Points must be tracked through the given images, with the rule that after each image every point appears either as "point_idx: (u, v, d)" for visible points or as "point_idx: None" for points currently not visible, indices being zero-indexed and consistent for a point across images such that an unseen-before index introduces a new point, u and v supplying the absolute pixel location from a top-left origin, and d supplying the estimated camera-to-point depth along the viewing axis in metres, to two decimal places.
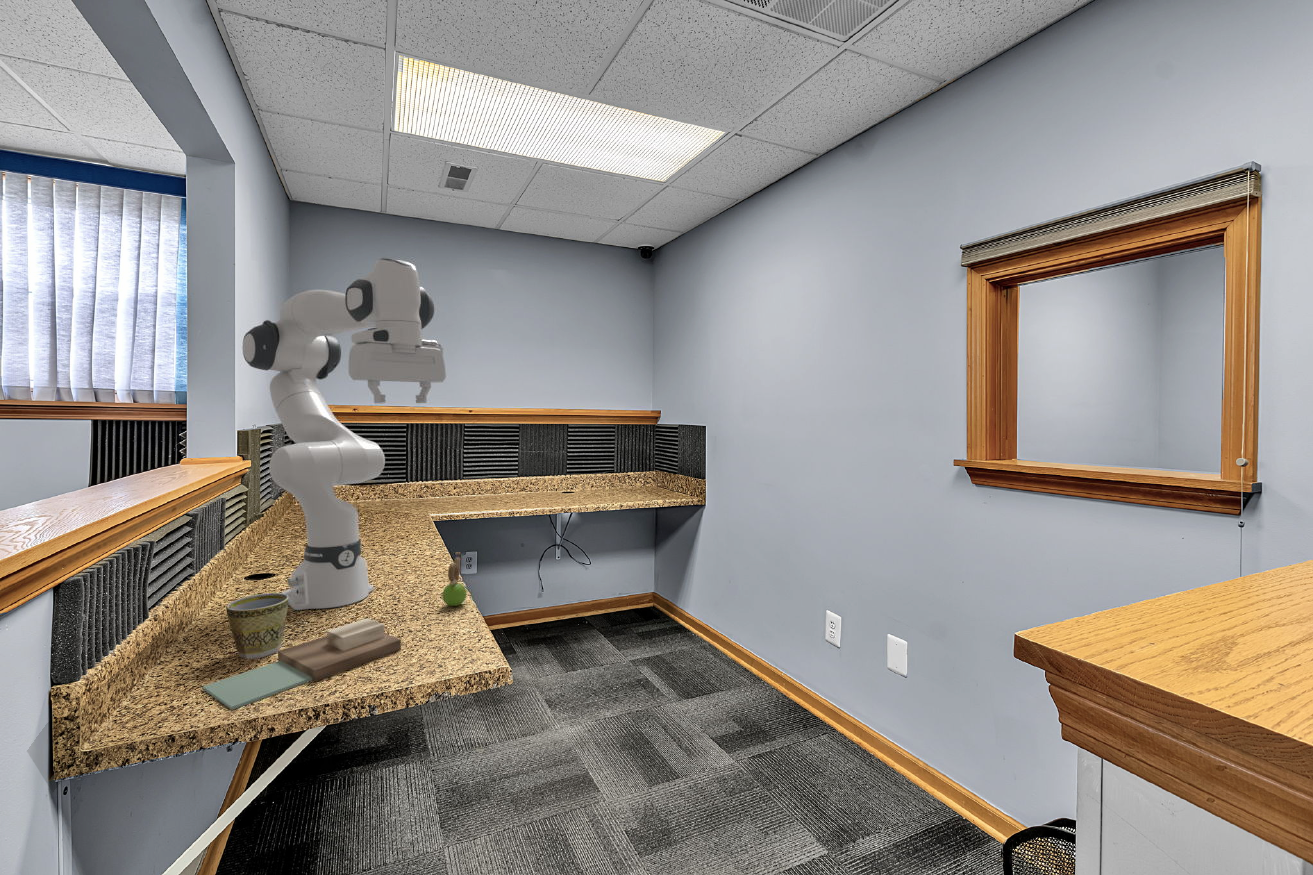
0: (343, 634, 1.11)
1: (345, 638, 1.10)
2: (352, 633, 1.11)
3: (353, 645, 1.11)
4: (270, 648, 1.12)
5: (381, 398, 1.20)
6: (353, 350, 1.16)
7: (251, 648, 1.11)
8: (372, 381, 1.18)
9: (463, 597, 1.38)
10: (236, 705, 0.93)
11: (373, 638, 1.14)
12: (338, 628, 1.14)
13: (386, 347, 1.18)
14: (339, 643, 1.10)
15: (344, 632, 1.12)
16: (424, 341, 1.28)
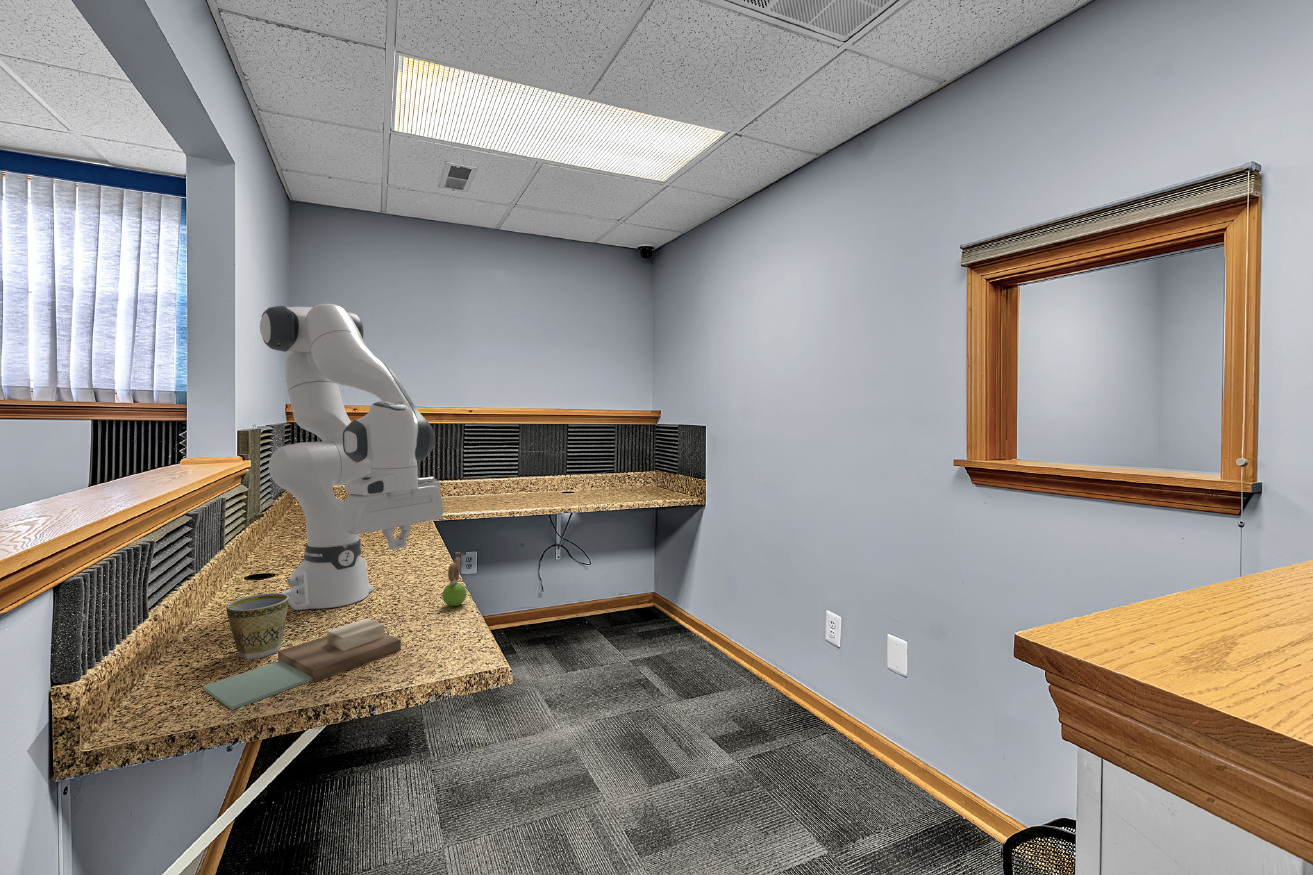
0: (343, 634, 1.11)
1: (345, 638, 1.10)
2: (352, 633, 1.11)
3: (353, 645, 1.11)
4: (270, 648, 1.12)
5: (395, 544, 1.19)
6: (347, 503, 1.13)
7: (251, 648, 1.11)
8: (386, 529, 1.18)
9: (463, 597, 1.38)
10: (236, 705, 0.93)
11: (373, 638, 1.14)
12: (338, 628, 1.14)
13: (381, 497, 1.15)
14: (339, 643, 1.10)
15: (344, 632, 1.12)
16: (421, 480, 1.24)
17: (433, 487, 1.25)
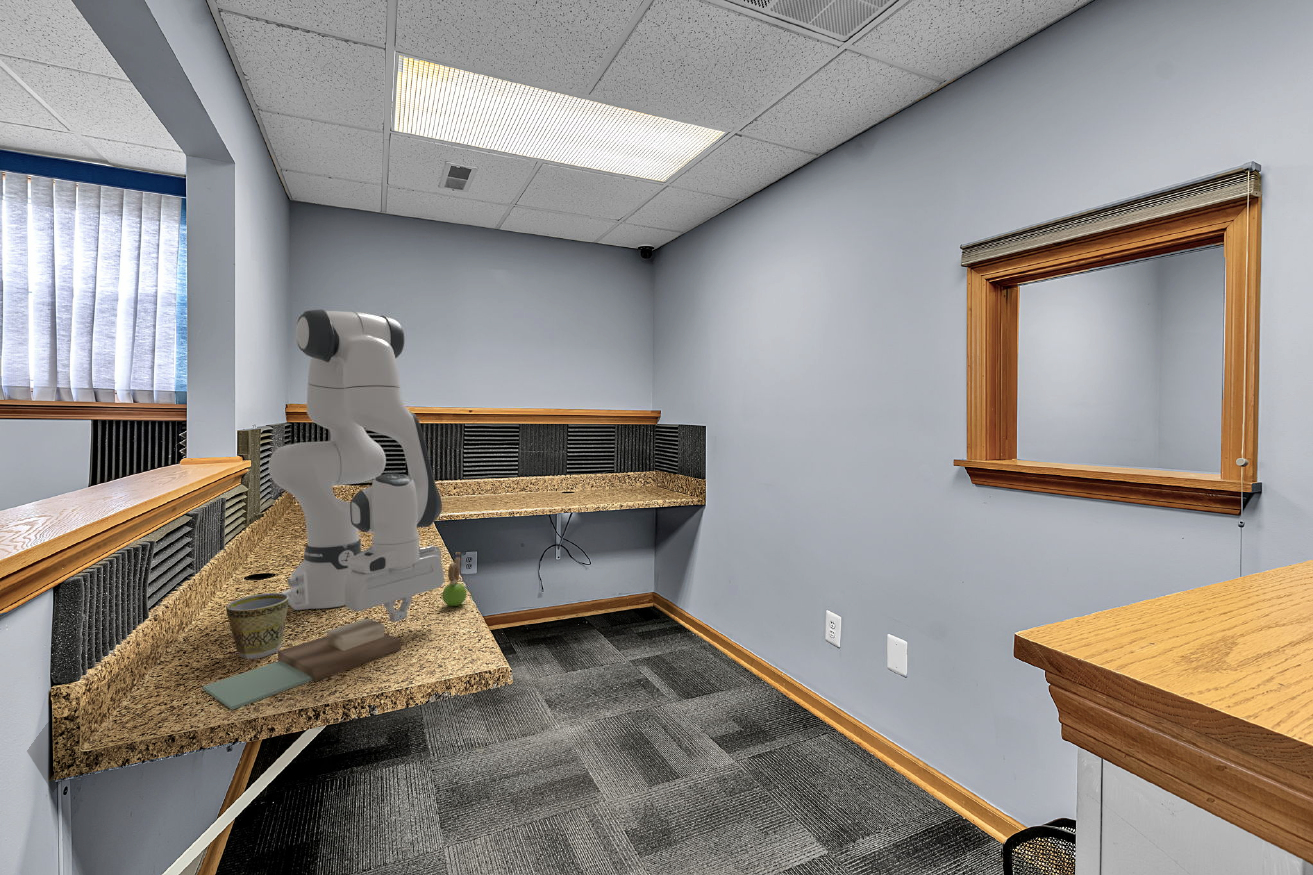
0: (343, 634, 1.11)
1: (345, 638, 1.10)
2: (352, 633, 1.11)
3: (353, 645, 1.11)
4: (270, 648, 1.12)
5: (396, 616, 1.20)
6: (349, 580, 1.14)
7: (251, 648, 1.11)
8: (388, 602, 1.19)
9: (463, 597, 1.38)
10: (236, 705, 0.93)
11: (373, 638, 1.14)
12: (338, 628, 1.14)
13: (382, 573, 1.15)
14: (339, 643, 1.10)
15: (344, 632, 1.12)
16: (422, 550, 1.25)
17: (434, 557, 1.26)
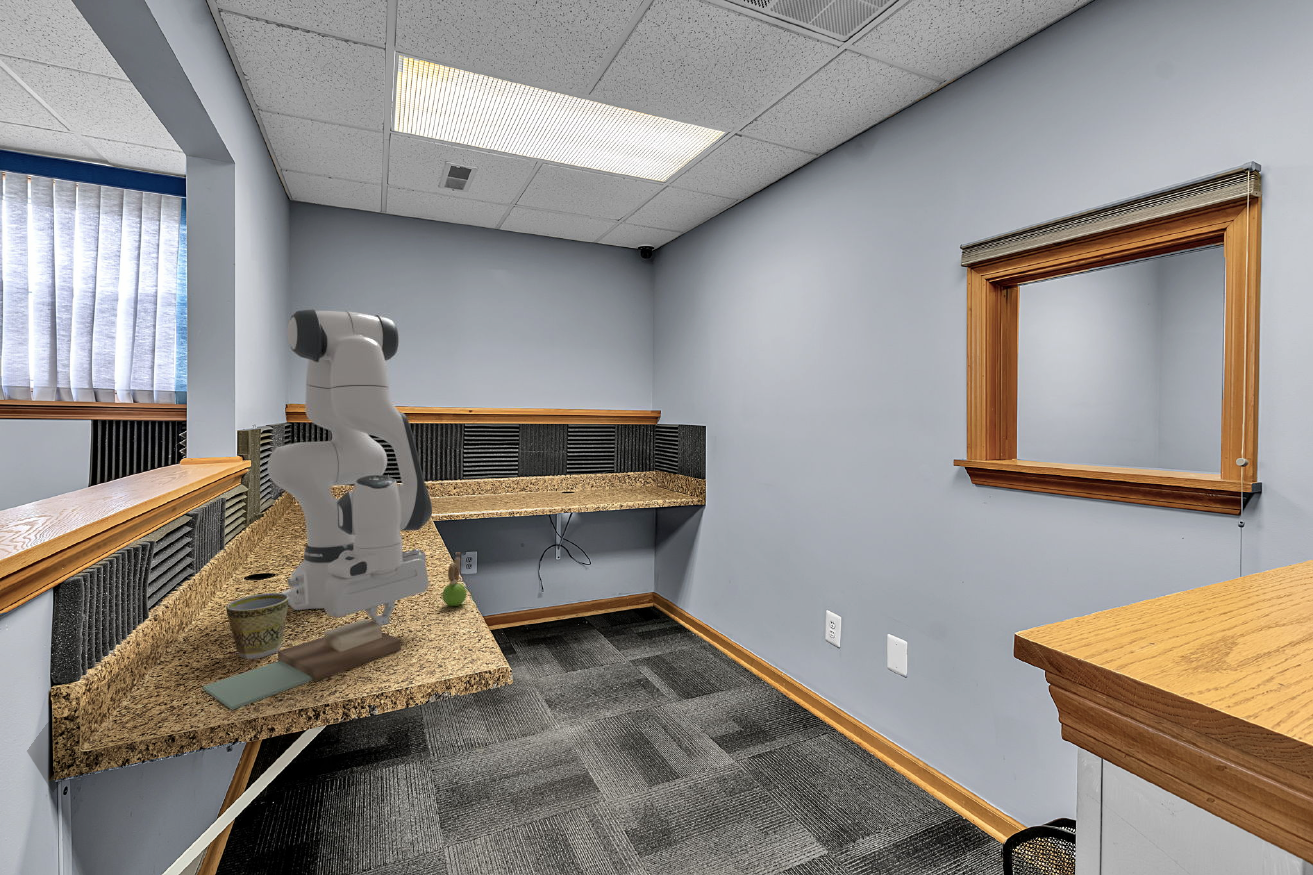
0: (340, 635, 1.10)
1: (342, 639, 1.09)
2: (350, 634, 1.11)
3: (350, 646, 1.10)
4: (270, 648, 1.12)
5: (379, 622, 1.17)
6: (329, 585, 1.10)
7: (251, 648, 1.11)
8: (370, 608, 1.16)
9: (463, 597, 1.38)
10: (236, 705, 0.93)
11: (371, 639, 1.14)
12: (335, 629, 1.13)
13: (364, 578, 1.12)
14: (337, 644, 1.10)
15: (342, 633, 1.11)
16: (405, 553, 1.22)
17: (418, 560, 1.23)
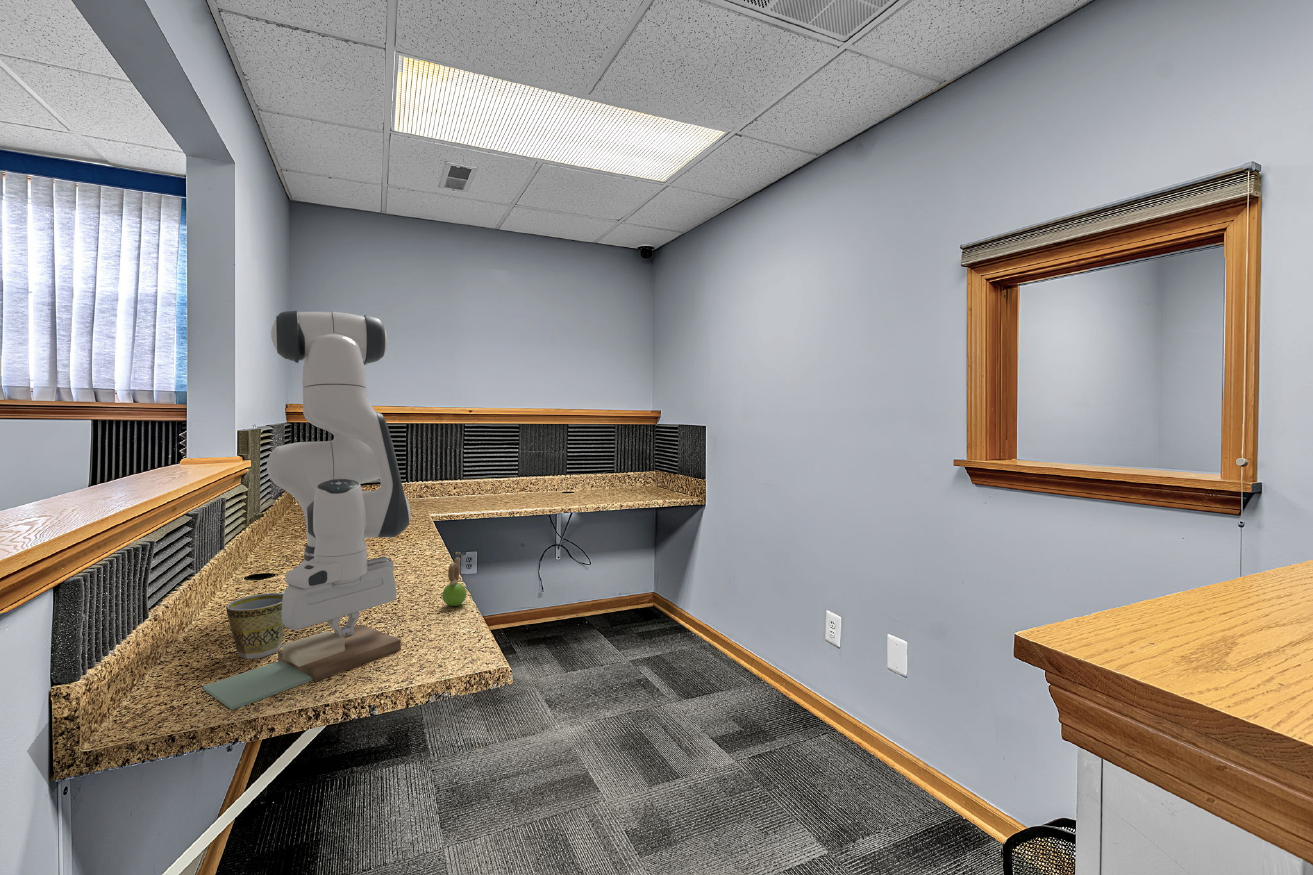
0: (299, 649, 1.04)
1: (301, 653, 1.03)
2: (309, 647, 1.05)
3: (310, 660, 1.04)
4: (270, 648, 1.12)
5: (342, 634, 1.11)
6: (286, 596, 1.04)
7: (251, 648, 1.11)
8: None
9: (463, 597, 1.38)
10: (236, 705, 0.93)
11: (332, 652, 1.08)
12: (295, 642, 1.07)
13: (324, 588, 1.06)
14: (295, 658, 1.03)
15: (301, 646, 1.05)
16: (371, 561, 1.16)
17: (385, 569, 1.17)
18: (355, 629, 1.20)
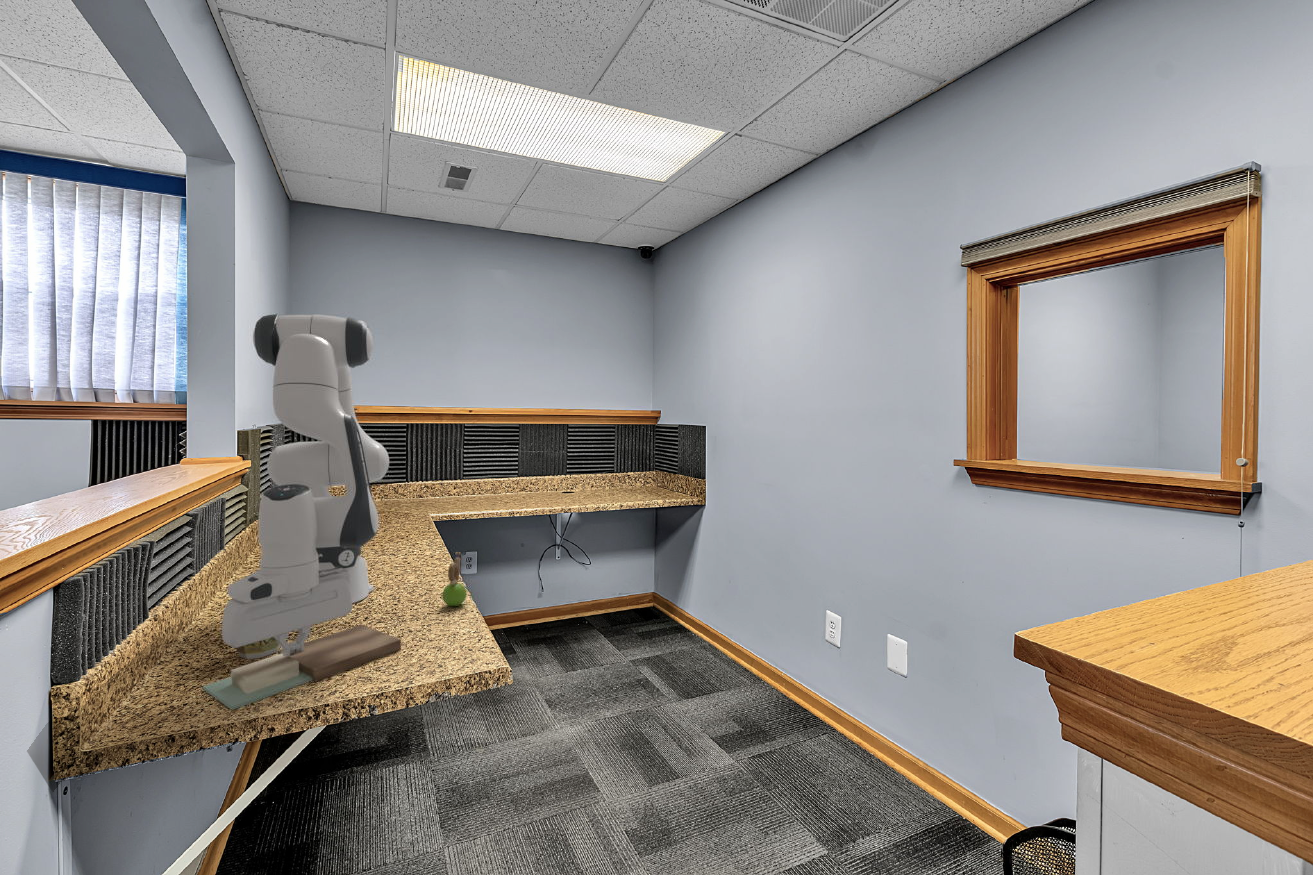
0: (247, 675, 0.97)
1: (249, 679, 0.96)
2: (259, 673, 0.98)
3: (259, 687, 0.98)
4: (270, 648, 1.12)
5: (290, 651, 1.04)
6: (227, 610, 0.97)
7: (251, 648, 1.11)
8: (278, 635, 1.02)
9: (463, 597, 1.38)
10: (236, 705, 0.93)
11: (285, 677, 1.01)
12: (245, 666, 1.01)
13: (268, 602, 0.99)
14: (243, 685, 0.97)
15: (250, 671, 0.99)
16: (324, 572, 1.08)
17: (339, 580, 1.10)
18: (355, 629, 1.20)
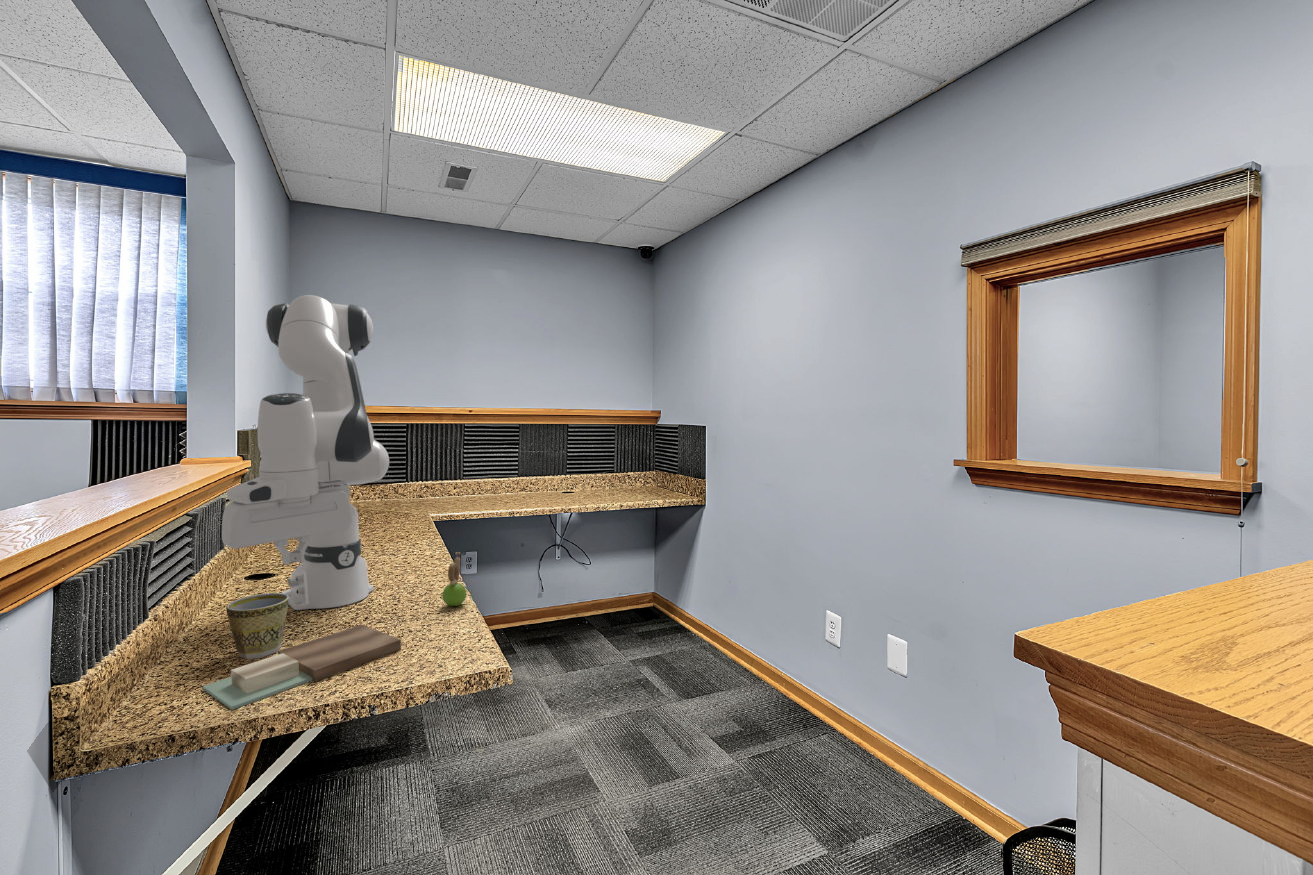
0: (247, 675, 0.97)
1: (249, 679, 0.96)
2: (259, 673, 0.98)
3: (259, 687, 0.98)
4: (270, 648, 1.12)
5: (290, 558, 1.04)
6: (227, 512, 0.97)
7: (251, 648, 1.11)
8: (278, 541, 1.02)
9: (463, 597, 1.38)
10: (236, 705, 0.93)
11: (285, 677, 1.01)
12: (245, 666, 1.01)
13: (268, 506, 0.99)
14: (243, 685, 0.97)
15: (250, 671, 0.99)
16: (324, 484, 1.08)
17: (339, 492, 1.09)
18: (355, 629, 1.20)
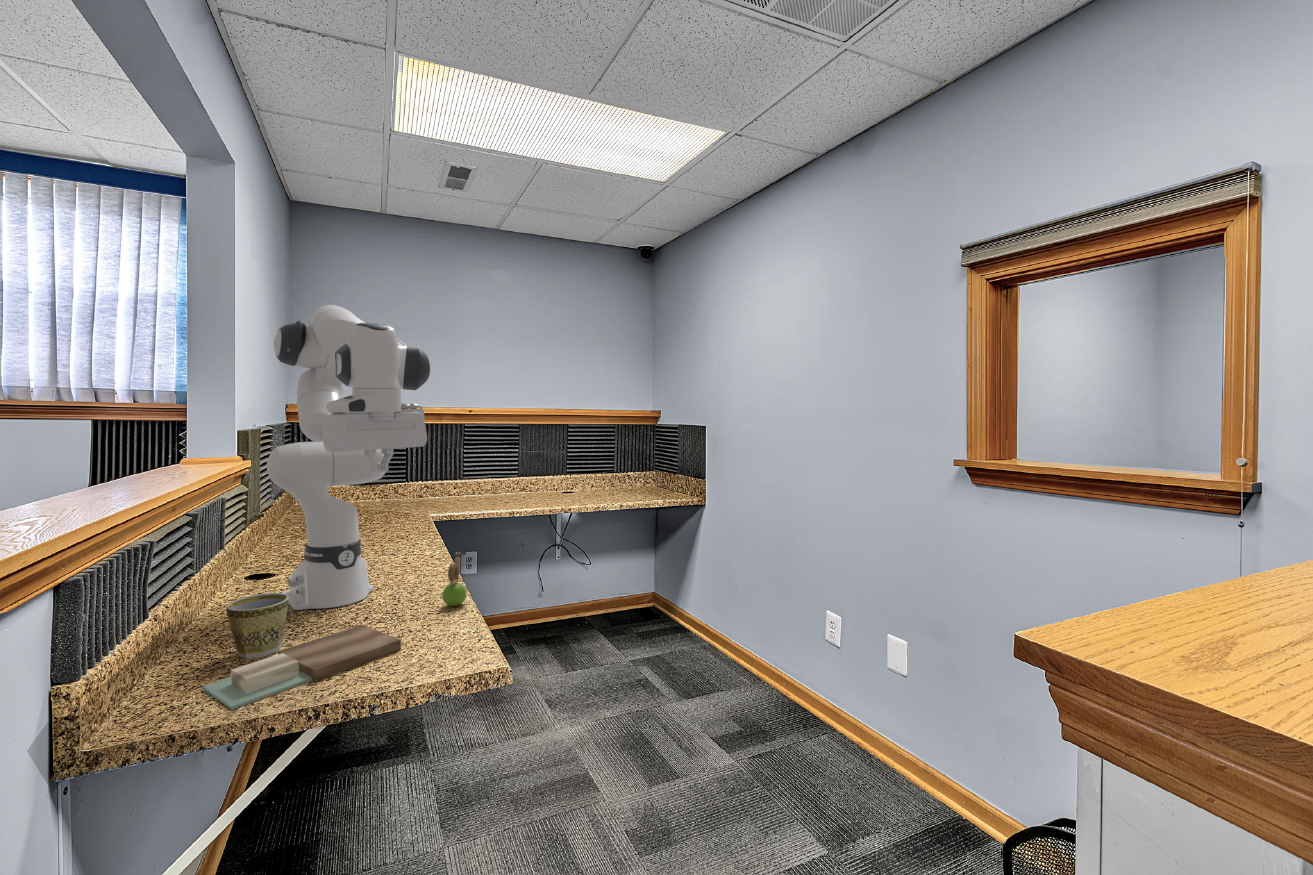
0: (247, 675, 0.97)
1: (249, 679, 0.96)
2: (259, 673, 0.98)
3: (259, 687, 0.98)
4: (270, 648, 1.12)
5: (377, 467, 1.18)
6: (328, 421, 1.11)
7: (251, 648, 1.11)
8: (368, 451, 1.17)
9: (463, 597, 1.38)
10: (236, 705, 0.93)
11: (285, 677, 1.01)
12: (245, 666, 1.01)
13: (362, 417, 1.13)
14: (243, 685, 0.97)
15: (250, 671, 0.99)
16: (404, 405, 1.23)
17: (417, 413, 1.24)
18: (355, 629, 1.20)
